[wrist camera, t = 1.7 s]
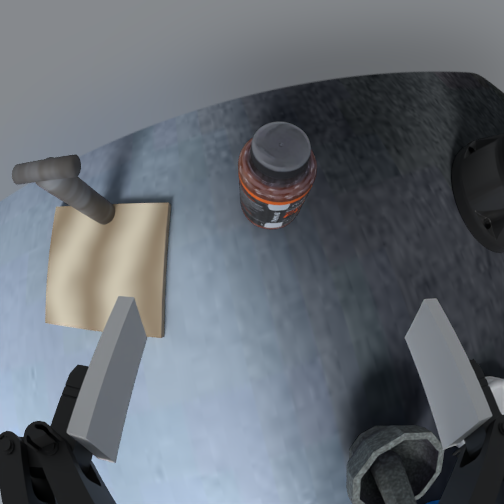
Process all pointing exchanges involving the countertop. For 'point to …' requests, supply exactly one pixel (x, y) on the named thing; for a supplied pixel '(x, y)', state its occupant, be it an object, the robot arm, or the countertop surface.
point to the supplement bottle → (275, 174)
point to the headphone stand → (100, 250)
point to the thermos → (433, 502)
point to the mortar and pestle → (393, 464)
